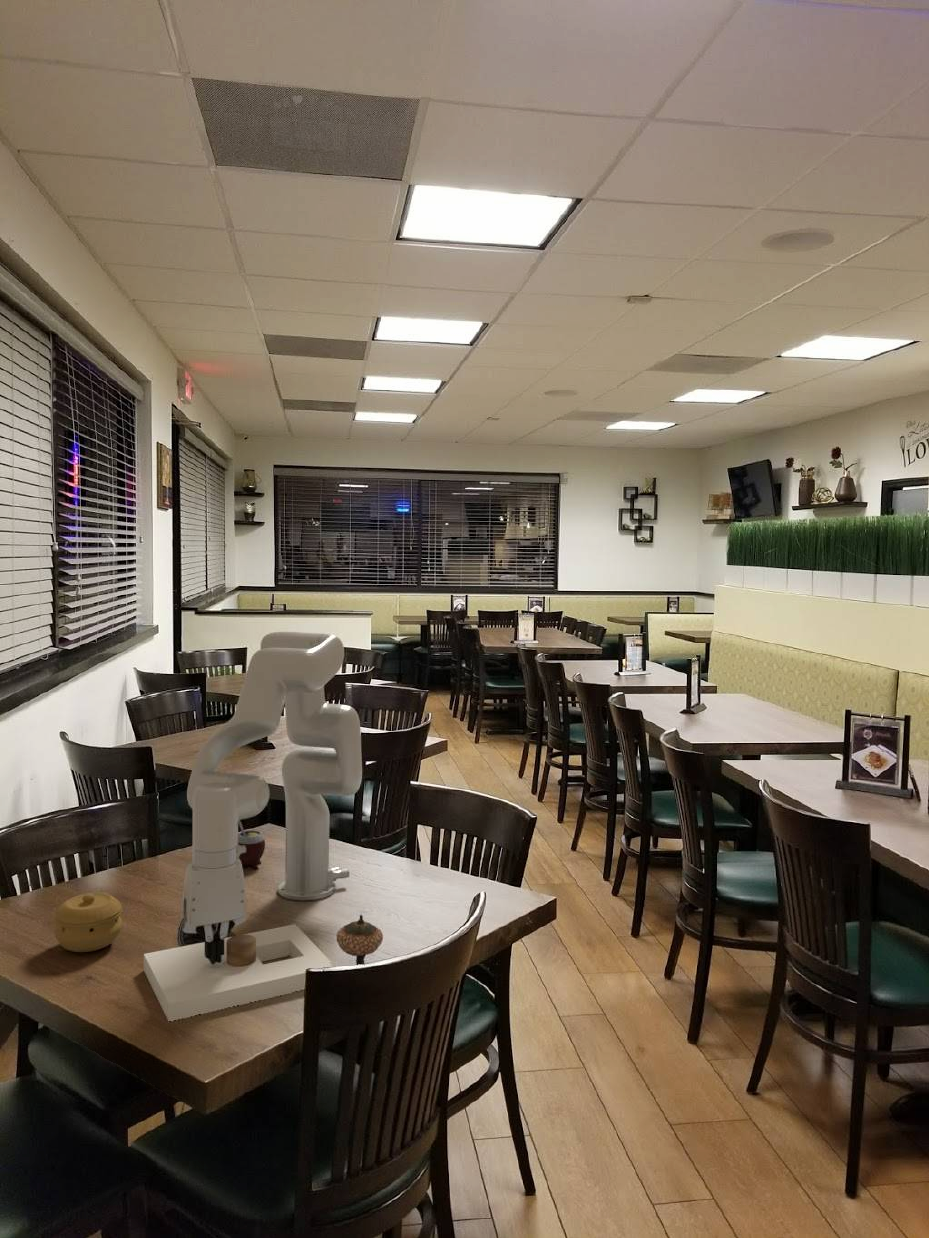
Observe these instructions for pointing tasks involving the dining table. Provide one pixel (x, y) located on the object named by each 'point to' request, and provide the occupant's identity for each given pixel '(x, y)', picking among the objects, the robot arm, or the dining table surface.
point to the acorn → (359, 939)
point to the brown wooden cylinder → (241, 950)
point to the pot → (88, 922)
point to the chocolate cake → (190, 938)
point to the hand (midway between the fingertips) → (214, 960)
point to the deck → (230, 973)
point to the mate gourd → (251, 848)
